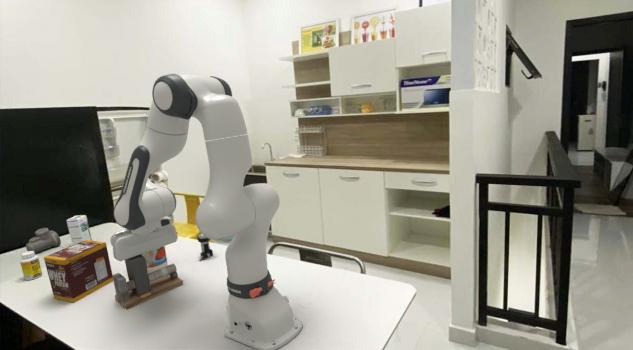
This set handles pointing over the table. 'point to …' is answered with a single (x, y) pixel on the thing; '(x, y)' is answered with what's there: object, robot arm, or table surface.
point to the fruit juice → (157, 260)
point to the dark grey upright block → (138, 274)
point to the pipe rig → (159, 284)
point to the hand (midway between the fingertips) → (150, 262)
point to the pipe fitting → (43, 240)
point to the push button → (204, 247)
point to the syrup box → (78, 229)
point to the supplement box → (79, 270)
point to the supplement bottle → (30, 265)
